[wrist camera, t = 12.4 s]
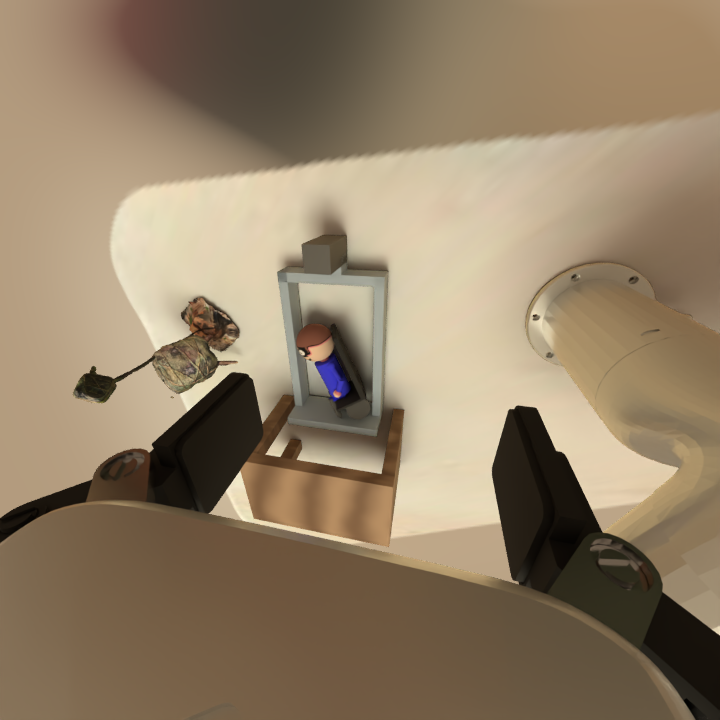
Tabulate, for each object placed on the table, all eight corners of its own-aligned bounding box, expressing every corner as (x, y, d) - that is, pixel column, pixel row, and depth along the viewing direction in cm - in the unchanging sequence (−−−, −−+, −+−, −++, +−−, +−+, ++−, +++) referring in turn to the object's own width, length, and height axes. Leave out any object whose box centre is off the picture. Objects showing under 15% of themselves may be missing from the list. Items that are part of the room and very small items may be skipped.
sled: (389, 236, 36) (380, 246, 30) (382, 410, 49) (375, 441, 43) (283, 234, 39) (255, 242, 33) (303, 400, 51) (285, 428, 45)
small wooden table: (404, 410, 48) (393, 487, 36) (399, 464, 54) (389, 546, 42) (283, 394, 52) (236, 460, 40) (292, 447, 58) (252, 518, 45)
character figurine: (344, 401, 51) (304, 318, 45) (385, 395, 48) (348, 305, 42) (326, 434, 44) (277, 342, 38) (372, 429, 41) (327, 328, 35)
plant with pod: (221, 366, 52) (118, 453, 35) (177, 308, 48) (37, 374, 31) (256, 351, 49) (161, 438, 32) (212, 287, 45) (78, 348, 28)
